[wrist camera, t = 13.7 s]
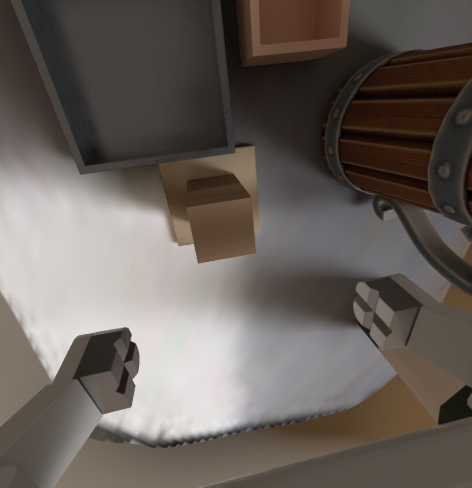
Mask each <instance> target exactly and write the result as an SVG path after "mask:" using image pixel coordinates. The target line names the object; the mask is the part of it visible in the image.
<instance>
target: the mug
mask: <svg viewBox="0 0 472 488" xmlns="http://www.w3.org/2000/svg"><path fill="white" fill-rule="evenodd" d="M323 129H324V132H323V134H322V136H321V146H322V153H323V158H325V159H327V167H328V169H329V171H330V172H331V174H332V175H333V176H334V177H335V178H336V179H337V180H339V181H340V182H342V183H343V184H344V185H345V186H347V187H350V188H352V189H355V190H358V191H361V192H364V193H367V194H374V196H373V202H372V205H373V208H374V211H375V213H376V215H377V216H378V217H379V218H380V219H381V220H383V221H385V220H388V219H391V218H394V217H397V216H398V217H399V219H400V221H401V223H402V224H403V226H404V228H405V230H406V232H407V233H408V235H409V237H410V239H411V240H412V242H413V243H414V245H415V246H416V248H417V249H418V251H419V252H420V253H421V255H422V256H423V257H424V258H425V260H426V261H427V262H428V263H429V264H430V265H431V266H432V267H433V268H434V269H435V270H436V271H437V272H439V273H440V274H441V275H442V276H443V277H445V278H446V279H447V280H448V281H449V282H451V283H452V284H453V285H455V286H456V287H457V288H459V289H460V290H461V291H463V292H464V293H466V294H467V295H469V296H471V297H472V266H471V265H470V264H468V263H467V262H465V261H464V260H463V259H461V258H460V257H459V256H458V255H456V254H455V253H454V252H453V251H452V250H451V249H450V248H449V247H448V246H447V245H446V244H445V243H444V242H443V240H442V239H441V238H440V236H439V235H438V234H437V232H436V231H435V229H434V228H433V226H432V225H431V223H430V221H429V220H428V218H427V216H426V214H425V213H424V211H423V209H427V210H430V211H433V212H436V213H440V214H442V215H443V216H444V217H447V218H449V219H451V220H454V221H456V222H459V223H462V224H465V225H468V226H465V227H463V228H461V231H462V232H463V234H464V235H465V236H466V238H467V239H468V240H469V242H471V241H472V43H467V44H461V45H455V46H449V47H443V48H437V49H431V50H424V49H415V50H409V51H403V52H398V53H392V54H387V55H383V56H381V57H379V58H377V59H375V60H373V61H371V62H369V63H367V64H365V66H364V67H363V68H361V69H360V70H359V71H355V72H354V73H353V74H352V75H351V76H350V77H349V78H348V79H347V80H346V81H345V82H344V83H343V84H342V86H341V87H340V88H339V90H338V91H337V94H336V98H335V100H333V101H331V103H330V105H329V108H328V110H327V112H326V115H325V119H324V123H323ZM422 208H423V209H422Z"/></svg>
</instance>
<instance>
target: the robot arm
mask: <svg viewBox="0 0 472 488" xmlns="http://www.w3.org/2000/svg"><path fill="white" fill-rule="evenodd" d="M356 292H357V293H358V294H359V295H358V296H357V297H356V298H355V299H354V304H353V309H354V313H355V316H356V318H357V320H358V321H359V322H360V324H361V325H362V326H364V327H366V328H368V329H370V336H371V338H372V339H373V340H374V341H375V342H376V344H377V345H378V346H379V347H380V349H381V350H382V351H385V350H390V349H395V348H401V347H406V348H407V349H409V350H410V351H412V352H414V353H415V354H417V355H419V356H420V357H422V358H424V359H425V360H427V361H428V362H430V363H432V364H433V365H435V366H437V367H438V368H440V369H442V370H443V371H445V372H446V373H448V374H450V375H451V376H453V377H455V378H456V379H458V380H460V381H461V382H463V383H465V384H466V385H468V386H469V387H471V388H472V312H470V311H467V310H464V309H461V308H459V307H456V306H453V305H450V304H447V303H445V302H443V303H439V302H438V301H436V300H435V299H434V298H432V297H431V296H430V295H429V294H427V293H426V292H425V291H423V290H422V289H421V288H420V287H418V286H417V285H416V284H414V283H413V282H412V281H411V280H409V279H408V278H407V277H405V276H404V275H401V274H395V275H390V276H386V277H381V278H376V279H371V280H366V281H361V282H359V283H358V284H357V287H356ZM131 336H132V334H131V332H130V330H129V328H126V327H124V328H118V329H112V330H106V331H100V332H95V333H91V334H85V335H79V336H78V337H76V338H75V339H74V341H73V343H72V345H71V347H70V349H69V351H68V353H67V355H66V357H65V359H64V361H63V363H62V365H61V367H60V369H59V371H58V373H57V375H56V377H55V379H54V381H53V383H52V384H50V385H46V386H45V387H44V388H43V389H42V390H41V391H40V392H38V393H37V394H36V395H35V396H34V397H33V398H32V399H31V400H30V401H29V402H28V403H26V404H25V405H24V406H23V407H22V408H21V409H20V410H19V411H18V412H17V413H15V414H14V415H13V416H12V417H11V418H10V419H9V420H8V421H7V422H5V423H4V424H3V425H2V426H1V427H0V488H53V487H54V486H55V484H56V483H57V481H58V480H59V479H60V477H61V476H62V474H63V473H64V471H65V470H66V469H67V467H68V466H69V464H70V463H71V461H72V460H73V458H74V457H75V455H76V454H77V453H78V451H79V450H80V448H81V447H82V446H83V444H84V442H85V441H86V440H87V438H88V437H89V435H90V434H91V433H92V431H93V430H94V428H95V427H96V425H97V424H98V422H99V421H100V420H101V418H102V417H103V415H102V414H106V413H110V412H114V411H118V410H122V409H126V408H130V407H131V406H132V401H133V396H134V391H135V384H134V382H133V380H132V379H133V378H134V377H135V376H136V374H137V373H138V370H139V351H138V348H137V345H136V343H134V342H132V341H130V340H131ZM467 405H468V406H469V407H470V408H471V409H472V393H471V395H470V396H469V398H468V402H467ZM199 488H472V417H469V418H465V419H461V420H457V421H453V422H449V423H445V424H442V425H438V426H434V427H430V428H426V429H423V430H419V431H415V432H411V433H407V434H403V435H399V436H396V437H391V438H388V439H384V440H380V441H376V442H372V443H369V444H365V445H361V446H357V447H353V448H349V449H345V450H341V451H337V452H334V453H330V454H326V455H322V456H318V457H314V458H311V459H307V460H303V461H299V462H295V463H291V464H287V465H283V466H280V467H276V468H272V469H269V470H265V471H260V472H256V473H253V474H249V475H245V476H241V477H237V478H233V479H230V480H226V481H222V482H218V483H214V484H210V485H207V486H203V487H199Z"/></svg>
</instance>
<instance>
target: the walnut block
mask: <svg viewBox="0 0 472 488" xmlns="http://www.w3.org/2000/svg"><path fill="white" fill-rule="evenodd" d="M186 208H187V213H188V218H189V222H190V227H191V232H192V237H193V241H194V246H195V251H196V256H197V260H198V263H203V262H209V261H215V260H220V259H226V258H231V257H237V256H243V255H248V254H254V253H256V249H255V236H254V223H253V210H252V197H251V196H250V195H249V193H248V192H247V191H246V189H245V188H244V187H243V185H242V184H241V183H240V181H239V180H238V179H237V177H236V176H235V175H234V174H228V175H221V176H214V177H207V178H200V179H193V180H187V203H186Z"/></svg>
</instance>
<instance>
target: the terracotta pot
mask: <svg viewBox="0 0 472 488" xmlns="http://www.w3.org/2000/svg"><path fill="white" fill-rule="evenodd" d="M236 11H237V23H238V36H239V49H240V62H241V67H250V66H260V65H270V64H279V63H289V62H299V61H308V60H318V59H320V58H322V57H325V56H327V55H329V54H332V53H334V52H336V51H338V50H341V49H343V48H345V47H347V35H348V23H349V12H350V0H236Z"/></svg>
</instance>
